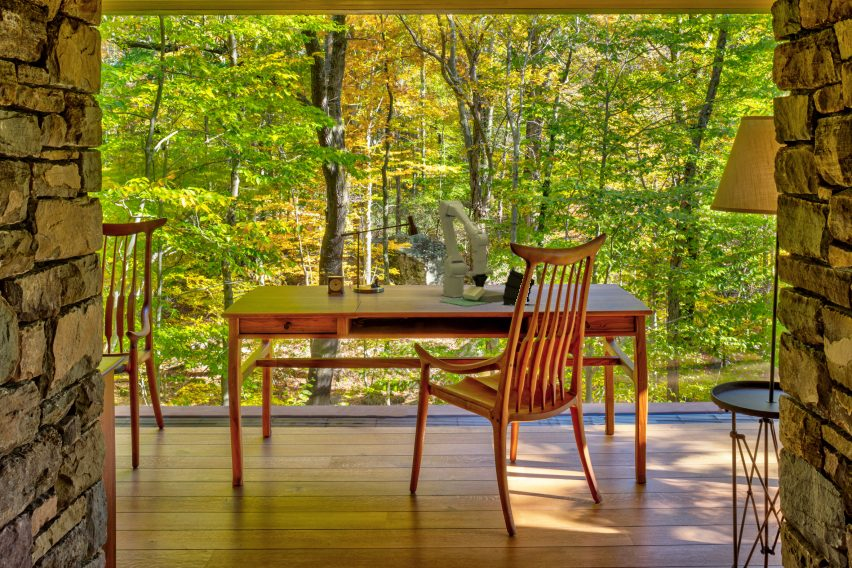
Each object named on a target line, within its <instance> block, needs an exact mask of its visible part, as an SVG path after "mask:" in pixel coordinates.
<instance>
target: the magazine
mask: <svg viewBox="0 0 852 568" xmlns="http://www.w3.org/2000/svg"><path fill="white" fill-rule="evenodd" d="M508 272H509V273H508V274H509V275H508V277H507V280H506V281H505V283H504V285H505V287H504V291H503V293H504V295H503V299H504V301H502V303H503V305H504V306H516V305H515V302H516V299H517V296H518V293H519V289H520V285H521V283H522V279H523V276H524V275H525V274H523V273H520V272H519V271H517V270H514V269H513V268H511V271H508ZM535 282H536V280H535V279H534V278H531V283H530V288H529V293H528V297H527V302H529V303H530V300H531V299H530V294H531V293H532V291H531V290H532V287H534V286H535ZM510 304H512V305H510Z"/></svg>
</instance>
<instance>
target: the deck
mask: <svg viewBox="0 0 852 568" xmlns="http://www.w3.org/2000/svg"><path fill="white" fill-rule="evenodd" d="M484 290H485V293H484V294H483V295H482V296H481V297H480V298H479V299H478V300H473V301H479V302H485V303H487V304H493V303H492V302H494V303H498V302H499V303H501V302H504V299H503V295H504V291H502V292H501V291H496V290H488V289H484ZM462 299H466V298H464V297H462ZM466 300H472V299H466ZM500 301H501V302H500Z"/></svg>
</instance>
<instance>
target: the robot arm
mask: <svg viewBox="0 0 852 568" xmlns="http://www.w3.org/2000/svg"><path fill="white" fill-rule="evenodd" d="M437 210H438V215H439V220H440V224H441V229H442V234H443V240H444V245H445V250H446V254H447V258H446V259H444V261H443V265H444V267H443V271H444V274H445V277H444V279H443V286H442V289H443V291H442V292H443V293H442V294H441V296H442V297H443V296H444V297H450V298H460V297H461V298H463V295H462V293H463V292H464V291H465V287H464V286H465V285H464V283H465V281H464V279H465V277H468V278H470V277H472V280H473V281H474V282H473V283H474V286H477V287H483V288H485V283H486V281H487V280H488V275H494V270H493V269H487V257H488V256H487V255H488V254H487V250H488V249H487V247H488V246H489V244H490V237H489V235H488V233H486V232H485V233H484V232H483V231H482V230H481V229H480V227H479V226H478V225H477V223H476V222H475V221H471V220H470V218H469V216H468V215H467V213H466V212H465V210H464V204H463V203H462V202H461V200H459V199H456V200H441V201H440V202H439V205H438V207H437ZM456 219H458V220H459V221H460V223H461V224H462V225H463V226H464V227H463V230H464V232H465V233H466V234H467V236H468V237H469V238H470V244H471V247H472V252H473V270H472V271H468V265H467V263H466V261H465V258H464V257H463V256H461V255H460V252H459V245H458V242H457V236H456V232H455V227H454V223H453V222H454V221H455V220H456Z"/></svg>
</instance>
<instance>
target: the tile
mask: <svg viewBox="0 0 852 568" xmlns="http://www.w3.org/2000/svg"><path fill="white" fill-rule="evenodd" d="M484 288H485V287H477V286H476V285H469V287H467V289H466V290H465V289H464V292H463V293H462V295H463V297H464V298H466V299H472V300H478V299H479V298H480V297H481V296H482V295H483V294H484V293H485V290H486V289H484ZM463 297H462V298H463Z"/></svg>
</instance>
